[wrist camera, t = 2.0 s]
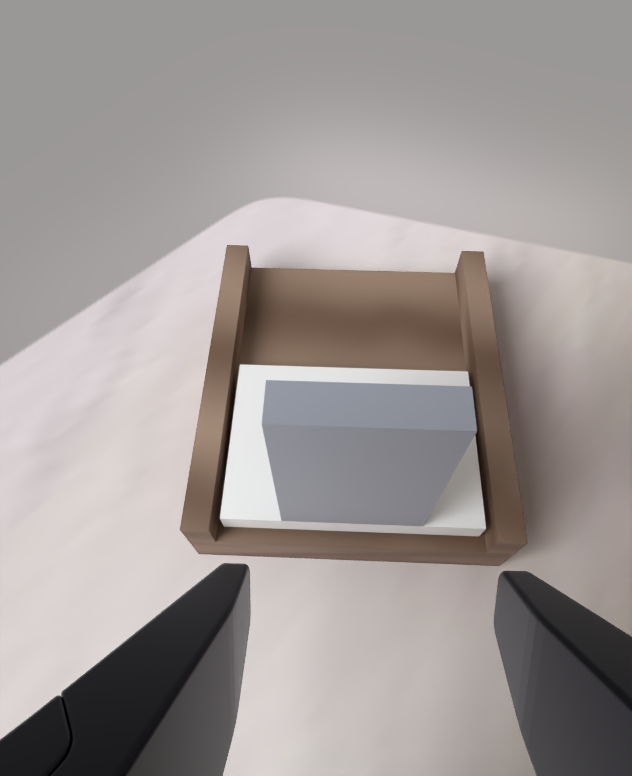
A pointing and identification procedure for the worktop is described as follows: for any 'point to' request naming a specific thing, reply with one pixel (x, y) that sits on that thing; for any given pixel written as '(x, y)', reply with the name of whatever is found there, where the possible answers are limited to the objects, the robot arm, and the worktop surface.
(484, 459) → the board
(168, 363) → the worktop surface
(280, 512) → the lid
